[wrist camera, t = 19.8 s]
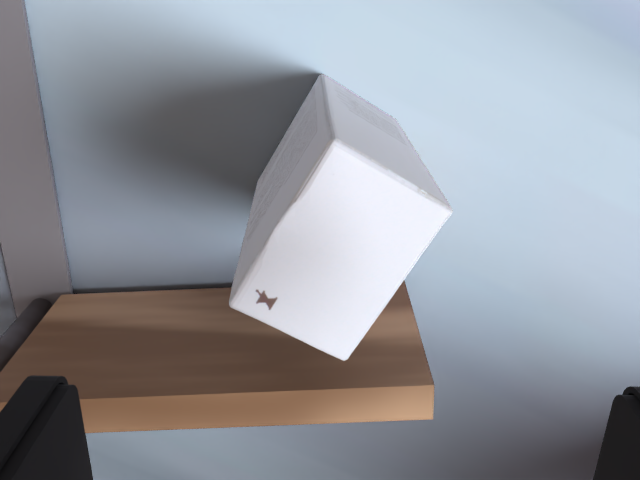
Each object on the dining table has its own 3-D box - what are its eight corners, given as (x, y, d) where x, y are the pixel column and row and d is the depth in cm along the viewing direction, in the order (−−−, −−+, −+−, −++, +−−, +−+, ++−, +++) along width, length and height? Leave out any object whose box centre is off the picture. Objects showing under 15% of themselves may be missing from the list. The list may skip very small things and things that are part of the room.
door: (403, 306, 31) (432, 419, 23) (34, 322, 31) (-60, 438, 24) (403, 279, 30) (434, 385, 23) (26, 295, 31) (-72, 405, 23)
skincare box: (333, 223, 30) (343, 370, 19) (256, 180, 29) (220, 309, 18) (402, 116, 28) (460, 212, 17) (321, 67, 27) (326, 134, 16)
